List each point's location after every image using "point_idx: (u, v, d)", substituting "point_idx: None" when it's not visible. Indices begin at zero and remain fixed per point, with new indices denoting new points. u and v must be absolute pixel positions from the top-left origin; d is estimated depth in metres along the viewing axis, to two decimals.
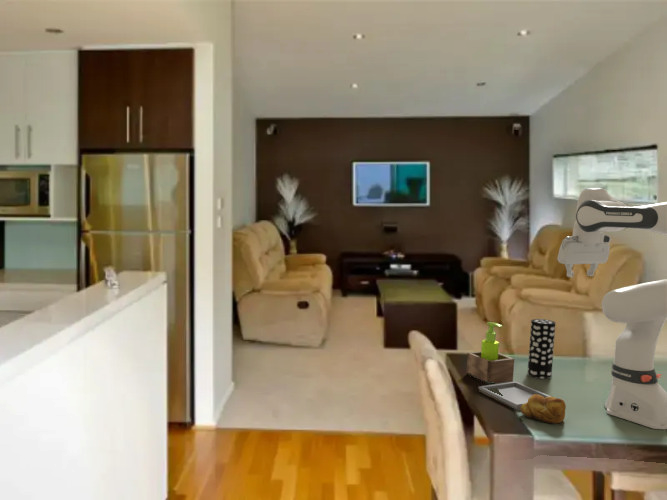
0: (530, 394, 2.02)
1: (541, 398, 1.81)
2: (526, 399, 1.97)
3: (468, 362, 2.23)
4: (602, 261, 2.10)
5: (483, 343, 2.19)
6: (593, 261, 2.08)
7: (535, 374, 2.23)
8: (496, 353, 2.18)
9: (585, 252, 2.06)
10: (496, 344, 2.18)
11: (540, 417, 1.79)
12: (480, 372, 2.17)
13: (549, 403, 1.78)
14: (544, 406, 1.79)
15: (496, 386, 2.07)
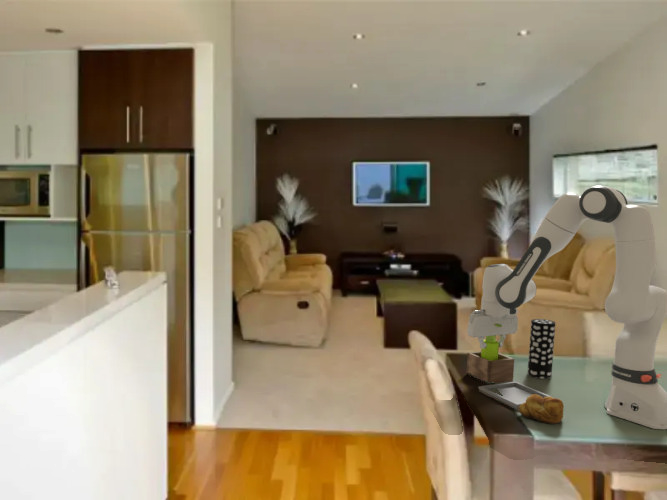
0: (530, 394, 2.02)
1: (539, 398, 1.81)
2: None
3: (468, 362, 2.23)
4: (512, 332, 2.21)
5: None
6: (503, 333, 2.19)
7: (535, 374, 2.23)
8: (496, 353, 2.18)
9: (493, 324, 2.17)
10: (496, 344, 2.18)
11: (538, 416, 1.79)
12: (480, 372, 2.17)
13: (546, 402, 1.78)
14: (542, 406, 1.79)
15: (496, 386, 2.07)
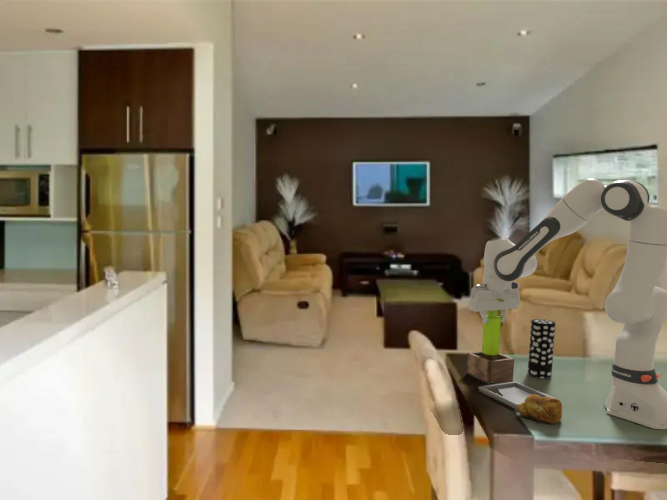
0: (530, 394, 2.02)
1: (538, 398, 1.81)
2: None
3: (468, 362, 2.23)
4: (514, 307, 2.20)
5: None
6: (505, 307, 2.18)
7: (535, 374, 2.23)
8: (498, 328, 2.17)
9: (494, 299, 2.16)
10: (498, 319, 2.17)
11: (536, 416, 1.79)
12: (480, 372, 2.17)
13: (545, 402, 1.78)
14: (540, 406, 1.79)
15: (496, 386, 2.07)
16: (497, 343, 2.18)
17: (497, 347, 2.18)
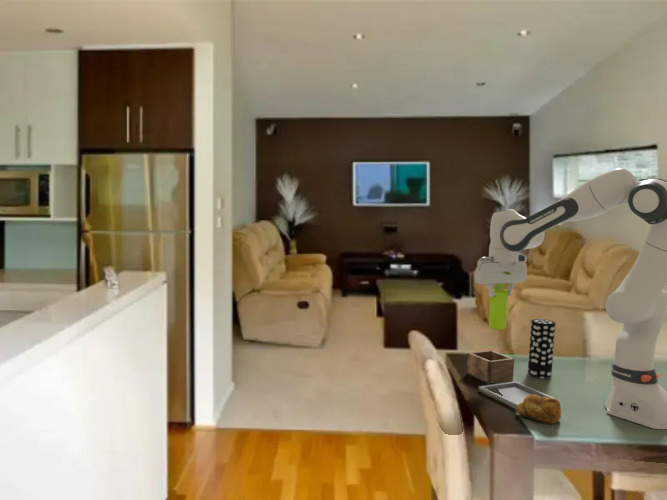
0: None
1: (536, 398, 1.81)
2: None
3: (468, 362, 2.23)
4: (521, 280, 2.15)
5: None
6: (512, 281, 2.14)
7: (535, 374, 2.23)
8: (505, 302, 2.13)
9: (501, 272, 2.12)
10: (505, 292, 2.12)
11: (534, 416, 1.79)
12: (480, 372, 2.17)
13: (543, 402, 1.78)
14: (538, 405, 1.79)
15: (496, 386, 2.07)
16: (504, 317, 2.13)
17: (504, 321, 2.13)
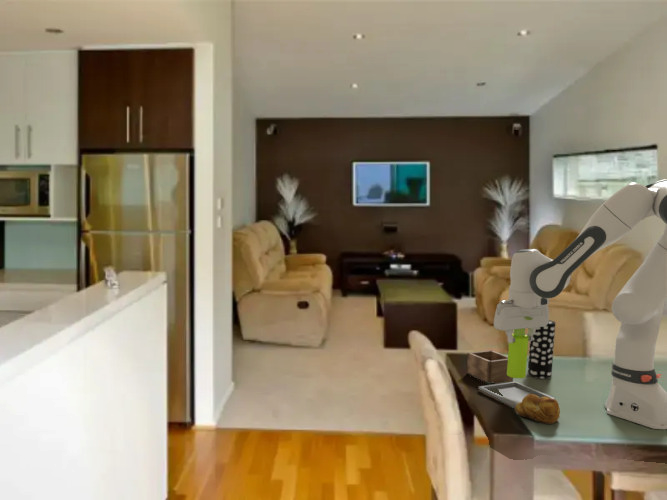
0: None
1: (535, 398, 1.81)
2: None
3: (468, 362, 2.23)
4: (542, 324, 2.00)
5: None
6: (533, 325, 1.98)
7: (535, 374, 2.23)
8: (525, 349, 1.97)
9: (522, 316, 1.96)
10: (526, 339, 1.97)
11: (533, 416, 1.79)
12: (480, 372, 2.17)
13: (542, 402, 1.78)
14: (537, 405, 1.79)
15: (496, 386, 2.07)
16: (524, 366, 1.98)
17: (524, 369, 1.98)
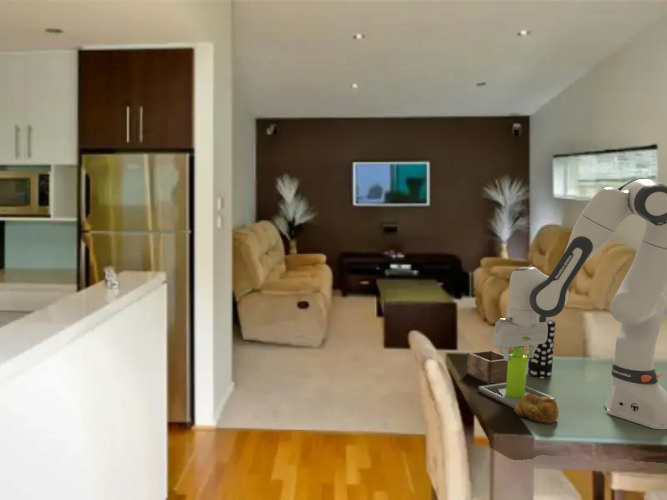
0: None
1: (533, 398, 1.81)
2: None
3: (468, 362, 2.23)
4: (541, 342, 2.00)
5: None
6: (531, 343, 1.99)
7: (535, 374, 2.23)
8: (524, 369, 1.98)
9: (520, 334, 1.96)
10: (524, 359, 1.97)
11: (531, 416, 1.79)
12: (480, 372, 2.17)
13: (540, 402, 1.78)
14: (535, 405, 1.79)
15: (496, 386, 2.07)
16: (523, 386, 1.98)
17: (523, 389, 1.98)
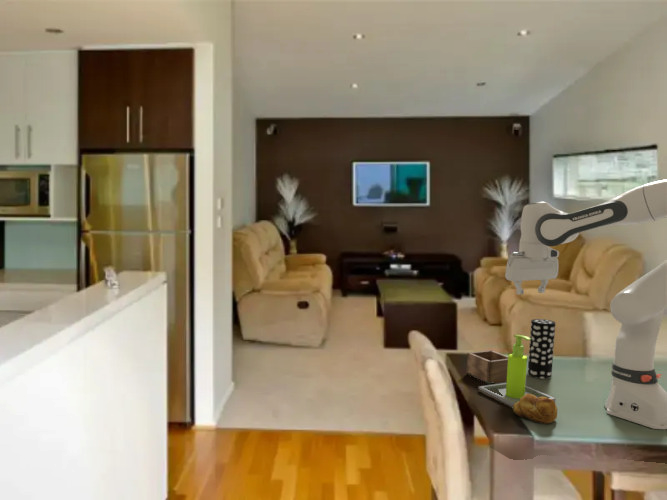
0: None
1: (532, 397, 1.81)
2: None
3: (468, 362, 2.23)
4: (552, 277, 2.04)
5: (510, 358, 1.99)
6: (543, 277, 2.02)
7: (535, 374, 2.23)
8: (524, 369, 1.98)
9: (532, 268, 2.00)
10: (524, 359, 1.97)
11: (529, 416, 1.80)
12: (480, 372, 2.17)
13: (538, 402, 1.78)
14: (534, 405, 1.79)
15: (496, 386, 2.07)
16: (523, 386, 1.98)
17: (523, 389, 1.98)
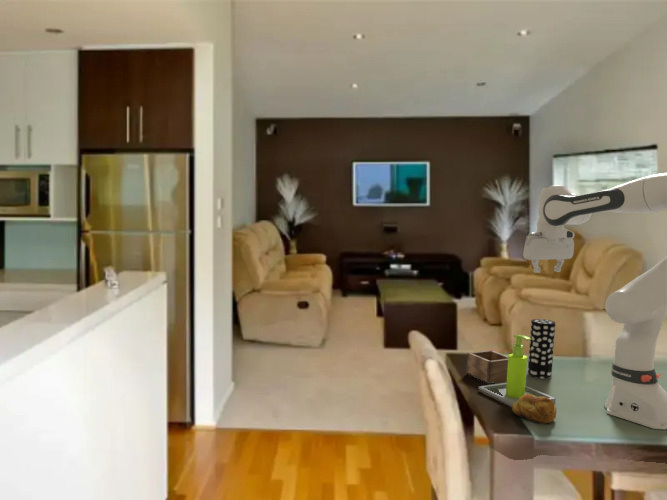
0: None
1: (531, 397, 1.81)
2: None
3: (468, 362, 2.23)
4: (568, 257, 2.15)
5: (510, 358, 1.99)
6: (559, 257, 2.14)
7: (535, 374, 2.23)
8: (524, 369, 1.98)
9: (549, 248, 2.12)
10: (524, 359, 1.97)
11: (528, 416, 1.80)
12: (480, 372, 2.17)
13: (537, 402, 1.78)
14: (532, 405, 1.79)
15: (496, 386, 2.07)
16: (523, 386, 1.98)
17: (523, 389, 1.98)
